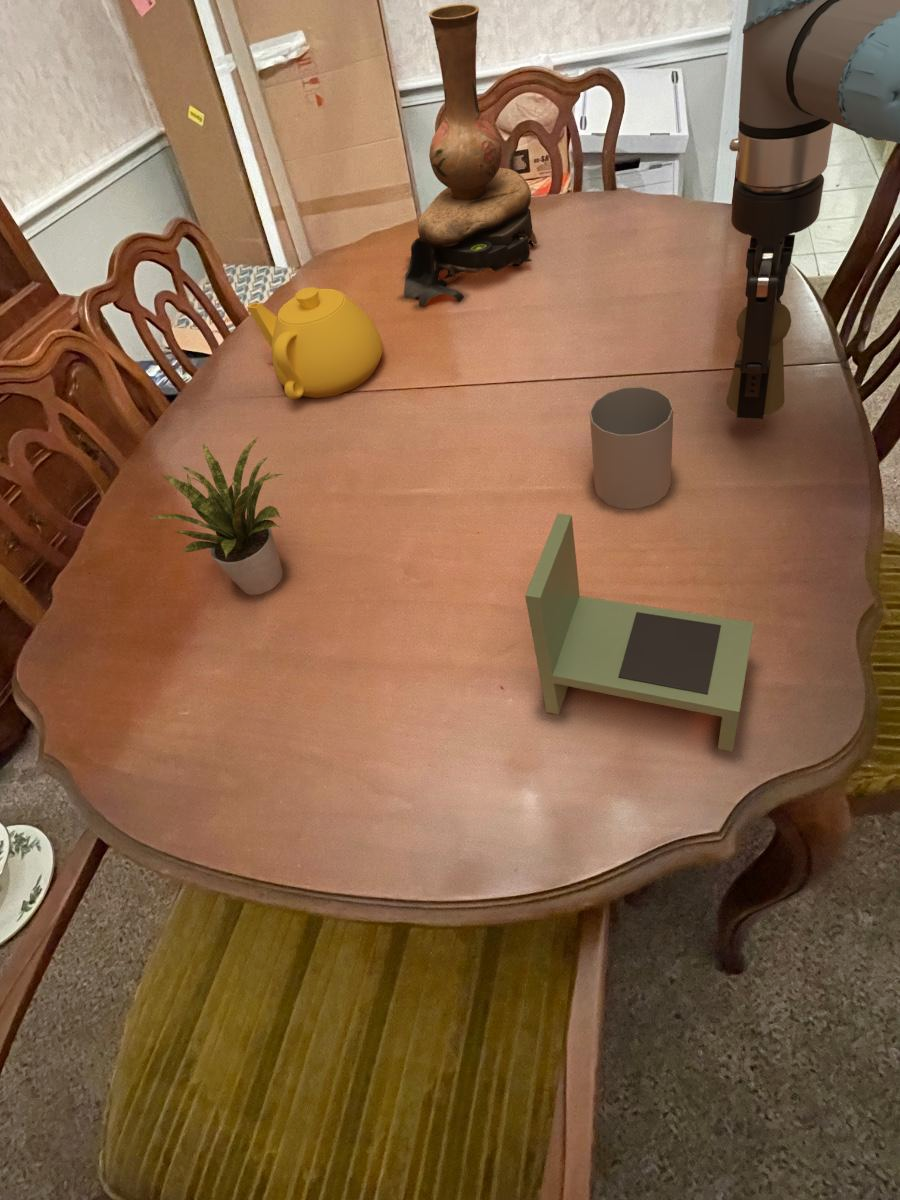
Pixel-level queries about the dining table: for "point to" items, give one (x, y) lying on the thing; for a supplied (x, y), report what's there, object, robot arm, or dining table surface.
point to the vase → (466, 177)
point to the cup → (632, 446)
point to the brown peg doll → (776, 365)
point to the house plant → (233, 525)
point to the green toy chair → (631, 644)
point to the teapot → (320, 343)
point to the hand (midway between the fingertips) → (754, 397)
